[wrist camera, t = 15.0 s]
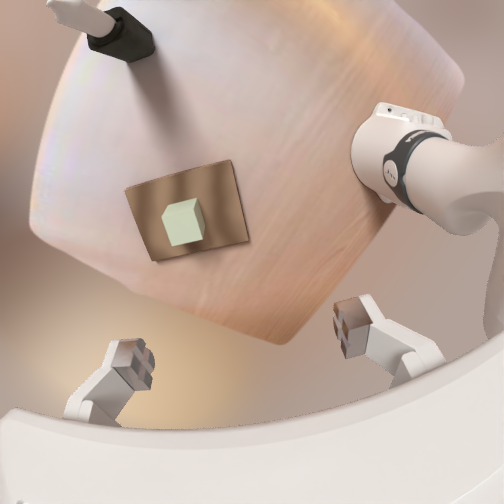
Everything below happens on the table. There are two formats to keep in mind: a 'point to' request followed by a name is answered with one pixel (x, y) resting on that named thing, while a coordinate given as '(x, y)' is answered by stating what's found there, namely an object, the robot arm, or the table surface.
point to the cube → (184, 222)
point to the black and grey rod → (106, 29)
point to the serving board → (185, 188)
